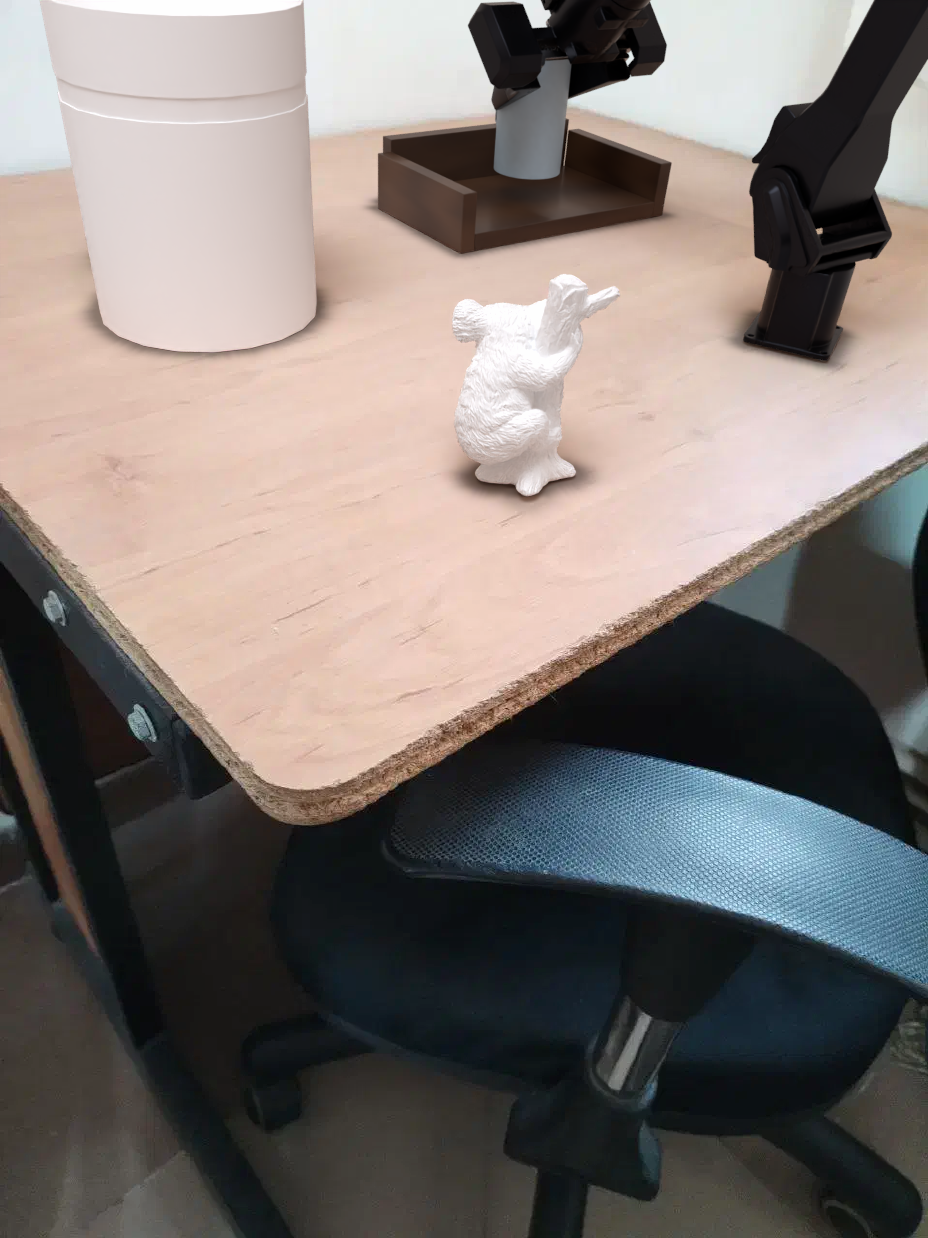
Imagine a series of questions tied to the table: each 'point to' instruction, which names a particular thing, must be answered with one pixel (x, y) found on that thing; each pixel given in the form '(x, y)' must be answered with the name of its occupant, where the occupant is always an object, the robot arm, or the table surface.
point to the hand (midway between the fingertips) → (523, 101)
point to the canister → (190, 165)
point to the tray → (513, 187)
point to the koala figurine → (521, 381)
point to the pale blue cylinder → (534, 127)
